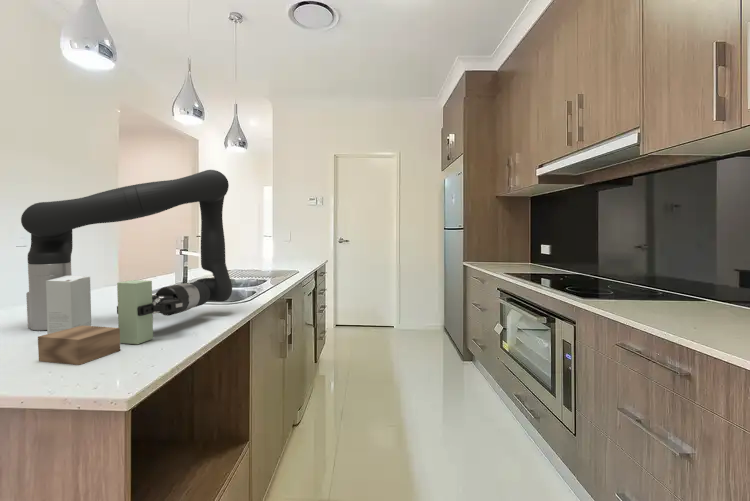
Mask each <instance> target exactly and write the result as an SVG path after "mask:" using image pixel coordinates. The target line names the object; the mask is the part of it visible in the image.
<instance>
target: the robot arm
mask: <svg viewBox="0 0 750 501" xmlns="http://www.w3.org/2000/svg"><path fill="white" fill-rule="evenodd" d="M228 191H229V181H228V178H227V177H226V175H225V174H224V173H222V172H220V171H219V170H217V169H216V170H215V169H206V170H202V171H200V172H197V173H194V174H191V175H187V176H183V177H180V178H176V179H168V180H157V181H150V182H143V183H136V184H132V185H131V184H130V185H125V186H122V187H116V188H114V189H108V190H105V191H100V192H97V193H94V194H90V195H88V196H83V197H79V198H78V197H77V198H72V199H64V200H54V201H41V202H39V201H38V202H37V203H33V204H31V205H29V206H28V207H27V208H25V210H24V211H23V213H22V214H21V217H20V222H21V223H20V224H21V226H22V228H23V229H24V230H25V231H26V232H27V233H29V234H30V248H29V251H28V253H27V273H28V274H27V275H28V291H27V292H26V316H27V317H26V319H27V328H28V329H30V330H32V331H47V297H46V281H48V280H52V279H56V278H60V277H63V276H73V274H72V253H73V245H74V244H73V230H74V229H78V228H81V227H85V226H90V225H96V224H97V225H98V224H108V223H109V224H110V223H117V222H118V223H119V222H125V221H130V220H136V219H140V218H145V217H149V216H153V215H156V214H158V213H159V214H160V213H162V212H165V211H168V210H170V209H173V208H176V207H178V206H181V205H185V204H186V205H187V204H192V203H198V204H199V208H200V209H199V210H200V221H201V222H200V223H201V224H200V265H201V269H202V270H204V271H206V272H207V271H208V272H210V273H211V274H212V275H213V277H205V278H204V277H203V278H198V279H197V280H195V281H192V282H188V283H178V284H173V285H169V286H164V287H163V286H162V287H161V288H159V289H158V290H157V291H156V293H155V294H152V303H151V304H147V305H142V306H139V307H138V308H137V311H138V316H143V315H147V314H151V313H153V315H155V314H161V315H163V316H167V317H168V316H174V315H176V314H180V313H183V312H186V311H189V310H191V309H193V308H197V307H200V306H203V305H205V304H206V303H207V302H226V301H228V300H229V299H231V296H232V293H233V285H232V280H231V277H230V274H229V269H228V267H227V263H226V241H225V240H226V239H225V234H224V233H225V232H224V223H223V208H224V201H225V196H226V195H227V193H228ZM116 314H117V315H118V305H117V306H116Z"/></svg>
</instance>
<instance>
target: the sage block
mask: <svg viewBox="0 0 750 501" xmlns="http://www.w3.org/2000/svg"><path fill="white" fill-rule="evenodd" d="M116 286H117V287H116V288H117V289H116V290H117V293H116V294H117V306H118V314H117V317H118V318H117V322H118V327H117V328H120V344H131V345H139V344H142V343H145V342H148V341H151V340H153V339H154V322H153V321H154V318H153V315H154V314H153V313H151V314H147V315H143V316H138V311H137V308H138V307H139V306H142V305H147V304H151V303H152V295H153V282H152V280H140V279H132V280H127V281H121V282H117V283H116Z"/></svg>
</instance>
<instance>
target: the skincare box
mask: <svg viewBox="0 0 750 501" xmlns="http://www.w3.org/2000/svg"><path fill="white" fill-rule="evenodd" d="M91 296H92V295H91V276H90V275H72V276H63V277H60V278H56V279H52V280H48V281H46V297H47V330H46V331H47V334H50V333H54V332H58V331H62V330H66V329H70V328H74V327H78V326H82V325H83V326H92V300H91V299H92V297H91Z"/></svg>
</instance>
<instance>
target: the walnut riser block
mask: <svg viewBox="0 0 750 501" xmlns="http://www.w3.org/2000/svg"><path fill="white" fill-rule="evenodd" d="M37 347H38V348H37V349H38V350H37V351H38V354H37V355H38V362H44V363H54V364H55V363H57V364H64V365H65V364H66V365H76V366H80V365H83V364H85V363H89V362H91V361H94V360H97V359H99V358H103V357H106V356H109V355H112V354H114V353H116V352H120V351H121V343H120V328H119V327H112V326H111V327H109V326H108V327H107V326H99V325H98V326H95V325H91V326H83V325H82V326H78V327H74V328H70V329H66V330H62V331H58V332H54V333H50V334H43V335H38V336H37Z"/></svg>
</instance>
